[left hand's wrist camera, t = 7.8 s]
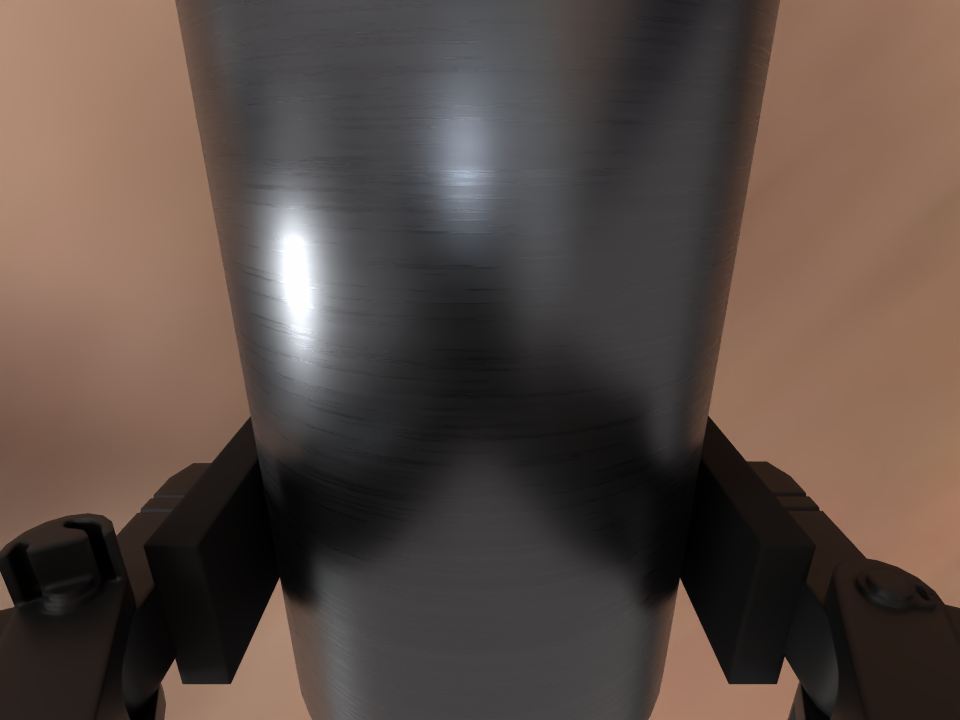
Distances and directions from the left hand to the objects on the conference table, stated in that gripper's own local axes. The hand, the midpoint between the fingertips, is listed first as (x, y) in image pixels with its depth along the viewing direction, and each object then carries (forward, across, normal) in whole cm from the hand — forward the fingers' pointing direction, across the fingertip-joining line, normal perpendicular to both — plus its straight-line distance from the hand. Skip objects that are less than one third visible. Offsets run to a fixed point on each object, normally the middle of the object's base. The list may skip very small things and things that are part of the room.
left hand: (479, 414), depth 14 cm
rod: (+1, 0, -10) cm, 10 cm away
